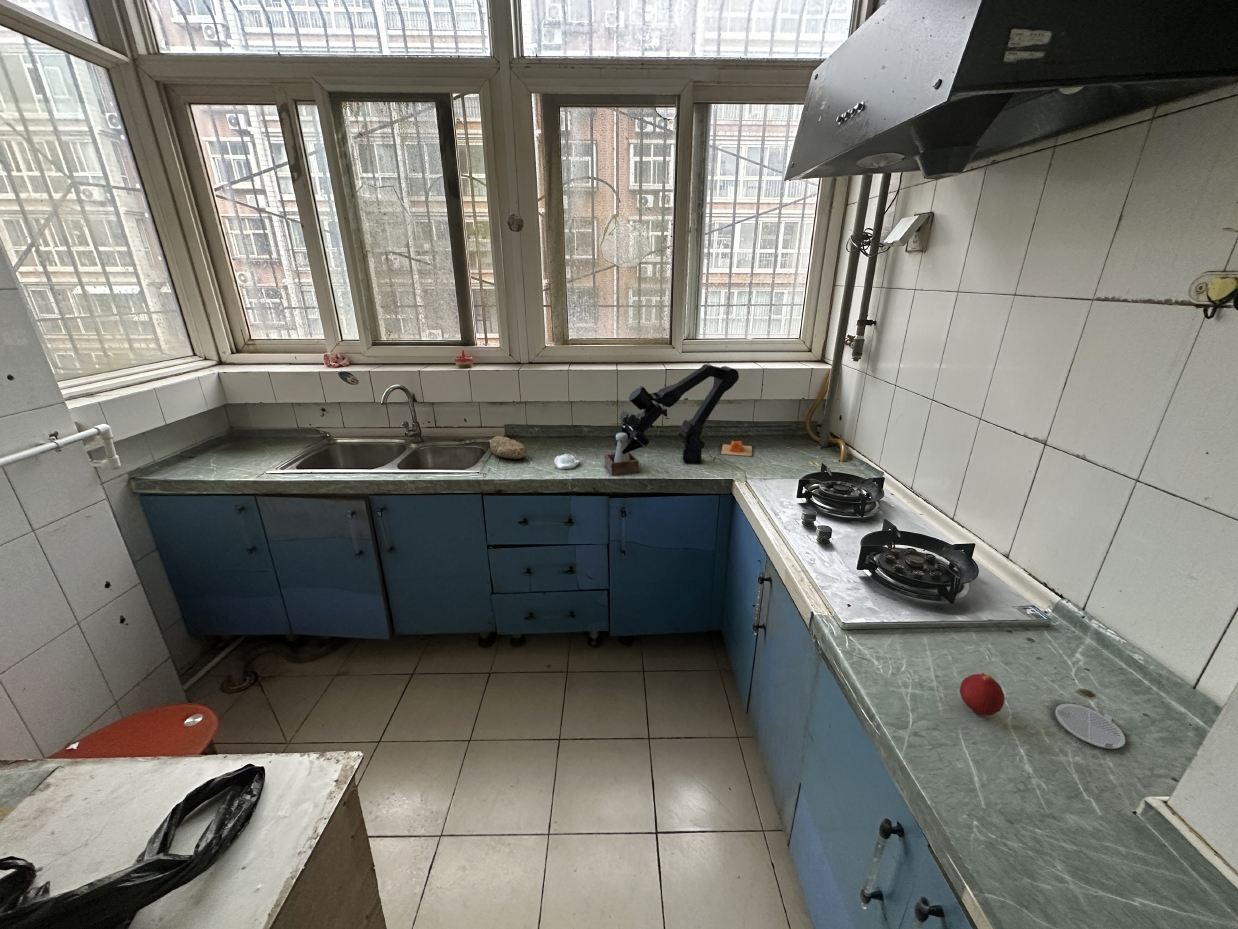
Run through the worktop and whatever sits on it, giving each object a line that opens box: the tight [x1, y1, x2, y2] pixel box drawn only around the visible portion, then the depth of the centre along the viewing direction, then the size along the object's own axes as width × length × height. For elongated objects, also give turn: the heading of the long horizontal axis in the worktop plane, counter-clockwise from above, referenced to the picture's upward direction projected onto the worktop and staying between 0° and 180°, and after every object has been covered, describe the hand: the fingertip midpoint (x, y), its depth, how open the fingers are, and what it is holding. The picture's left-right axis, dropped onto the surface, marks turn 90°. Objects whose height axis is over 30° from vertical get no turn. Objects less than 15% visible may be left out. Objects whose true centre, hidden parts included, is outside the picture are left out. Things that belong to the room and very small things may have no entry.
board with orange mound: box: [720, 440, 753, 457], centre depth 203 cm, size 12×12×4 cm
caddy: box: [604, 451, 640, 476], centre depth 185 cm, size 10×10×5 cm
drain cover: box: [1054, 703, 1126, 750], centre depth 79 cm, size 8×8×1 cm
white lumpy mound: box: [553, 453, 581, 470], centre depth 189 cm, size 10×4×10 cm
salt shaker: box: [614, 432, 630, 462], centre depth 183 cm, size 6×6×13 cm
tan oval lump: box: [489, 435, 527, 460], centre depth 199 cm, size 13×8×20 cm
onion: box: [959, 672, 1006, 716], centre depth 81 cm, size 6×6×8 cm
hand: (619, 449), depth 182 cm, fingers open, 9 cm apart
